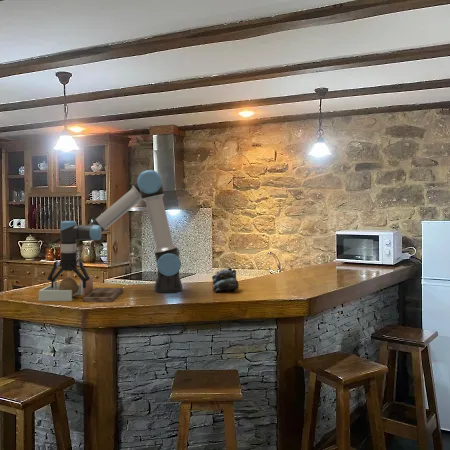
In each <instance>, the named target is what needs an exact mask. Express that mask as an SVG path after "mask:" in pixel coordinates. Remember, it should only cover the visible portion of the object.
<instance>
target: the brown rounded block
mask: <svg viewBox="0 0 450 450" xmlns="http://www.w3.org/2000/svg"><path fill="white" fill-rule="evenodd" d="M82 275H83V276H84V274H82ZM88 276H89V278H90V279H89V280H88V281H86V288H84V295H87V294H89V293H90V292H91V291H93V290H94V275H92V274H88ZM84 277H85V276H84ZM79 279H80V278H79ZM85 279H86V278H85ZM81 282H82V280H81V279H80V281H79V283H80V284H79V285H81Z"/></svg>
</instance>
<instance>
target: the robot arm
mask: <svg viewBox="0 0 450 450" xmlns="http://www.w3.org/2000/svg"><path fill="white" fill-rule="evenodd" d="M164 196H165V191H164V185H163V180H162V177H161V175H160V174H159V173H158V172H157V170H154V169H146V170H143V171H142V172H141V173H139V175H138V177H137V181H136V182H135V183H134V184H132V188H130V190H128V191H127V192H126V193H125V194H124V195H122V196H121V197H120V198H119V199H118V200H116V202H114V203H113V204H112V205H111V206H109V207H108V208H106V210H105V211H103V212H102V213H101V214H100V215H99V216H97V217H96V218H95V219H94V220H93V221H92V222H90V223H88V224H77V221H76V220H63V221H61V222H60V230H59V232H60V234H59V235H60V237H59V238H60V261H54V263H53V267H52V269H51V271H50V272H49V275H48V277H47V281H50V283H51V284H50V285H51V287H52V288H53V290H57V285H58V283H57V282H58V281H57V279H58V278H59V276H60V275H61V274H63V273H62V272H68V271H69V272H72V271H73V272H74V273H75V275H77V277H78V278H79V279H81V280H82V282H81V296H83V295H84V296H85V294H84V288H86V281H88V280H89V279H90V278H89V276H88V275H89V274H88V272H87V270H86V268H85V266H84V262H83V261H79V262H78V261H77V259H78V258H77V257H78V256H77V241H100V240H101V239H102V234H103V232H104V231H106V230H107V229H108V228H109V227H110V226H112V225H113V224H114V223H115V222H117V221H118V220H119V219H120V218H121V217H122V216H124V215H125V214H126V213H127V212H128V211H130V210H131V209H132V208H134V206H136V205H137V204H138V203H139V202H140V201H144V202H145V206H146V210H147V214H148V218H149V222H150V226H151V231H152V235H153V239H154V244H155V247H156V249H155V250H154V255H155V256H154V257H155V261H156V267H157V278H156V280H155V283H154V287H153V289H154V292H156V293H163V294H164V293H165V294H169V293H171V294H173V293H174V294H175V293H179V292H182V291H183V284H182V281H181V278H180V269H181V267H182V261H181V259H180V249H179V247H177V245H176V244H174V243H173V238H172V234H171V231H170V229H171V228H170V226H169V221H168V218H167V212H166V208H165V204H164V200H163V198H164ZM59 266H60V268H59V270H58V271H57V269H58V267H59ZM77 266H78V267H79V268H80V270H81V271H80V270H79V269H78V267H77ZM56 271H57V272H56ZM55 273H56V274H55ZM83 275H84V276H85V277H84V276H83ZM85 278H86V279H85Z"/></svg>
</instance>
